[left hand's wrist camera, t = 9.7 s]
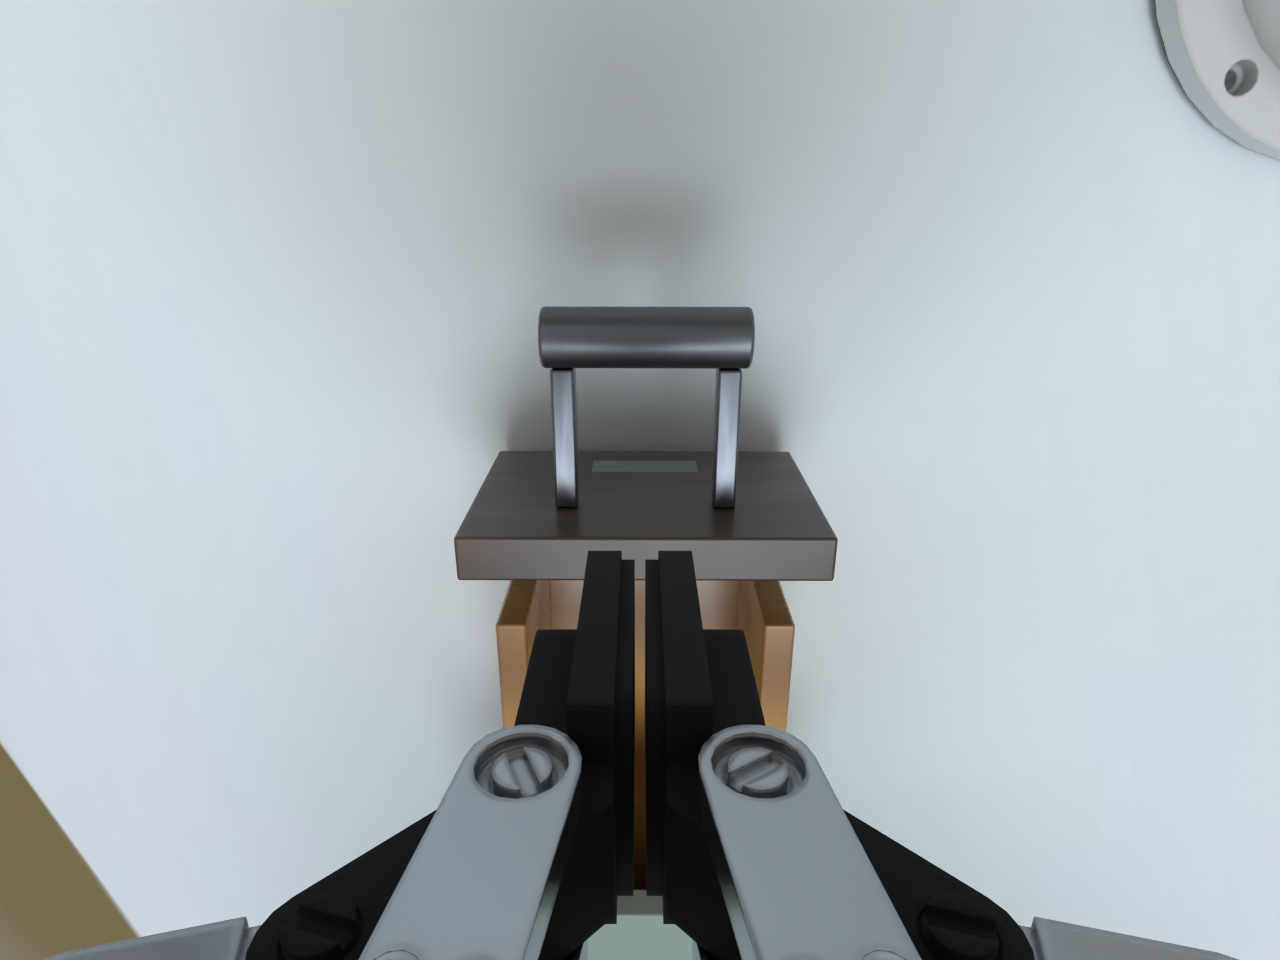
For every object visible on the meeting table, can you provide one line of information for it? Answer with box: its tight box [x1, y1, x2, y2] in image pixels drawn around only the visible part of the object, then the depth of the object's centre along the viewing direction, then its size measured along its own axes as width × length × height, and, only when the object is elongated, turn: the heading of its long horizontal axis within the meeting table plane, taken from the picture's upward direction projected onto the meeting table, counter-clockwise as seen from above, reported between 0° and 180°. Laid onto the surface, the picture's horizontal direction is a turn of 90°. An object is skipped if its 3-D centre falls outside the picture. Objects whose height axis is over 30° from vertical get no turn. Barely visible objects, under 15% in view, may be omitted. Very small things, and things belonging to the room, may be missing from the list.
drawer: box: [454, 307, 838, 890], centre depth 24 cm, size 24×9×7 cm, turn 0°
